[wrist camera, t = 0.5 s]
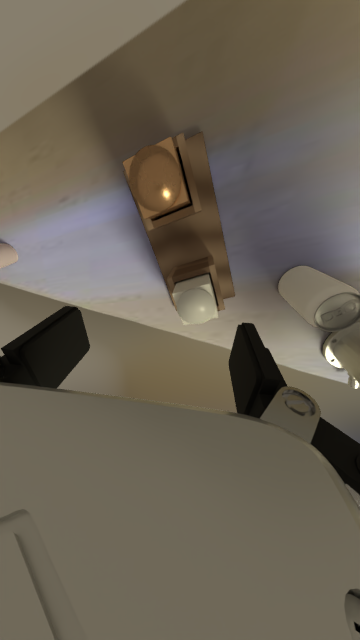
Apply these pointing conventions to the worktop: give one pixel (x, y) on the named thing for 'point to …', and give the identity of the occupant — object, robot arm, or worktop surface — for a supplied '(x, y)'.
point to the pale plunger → (195, 299)
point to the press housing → (192, 227)
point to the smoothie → (7, 255)
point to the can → (320, 298)
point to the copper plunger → (157, 180)
